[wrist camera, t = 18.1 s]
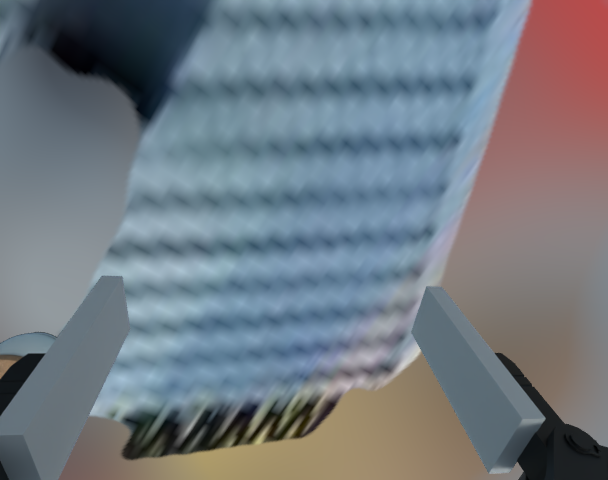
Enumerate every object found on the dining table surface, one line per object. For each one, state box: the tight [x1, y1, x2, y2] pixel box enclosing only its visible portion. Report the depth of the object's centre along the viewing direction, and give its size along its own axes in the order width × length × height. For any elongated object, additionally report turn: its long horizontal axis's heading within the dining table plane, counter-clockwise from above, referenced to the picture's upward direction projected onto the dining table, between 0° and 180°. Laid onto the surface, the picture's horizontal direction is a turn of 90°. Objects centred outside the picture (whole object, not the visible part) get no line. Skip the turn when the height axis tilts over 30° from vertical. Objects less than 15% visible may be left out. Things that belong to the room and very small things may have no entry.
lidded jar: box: [0, 332, 57, 379], centre depth 50 cm, size 11×11×9 cm
